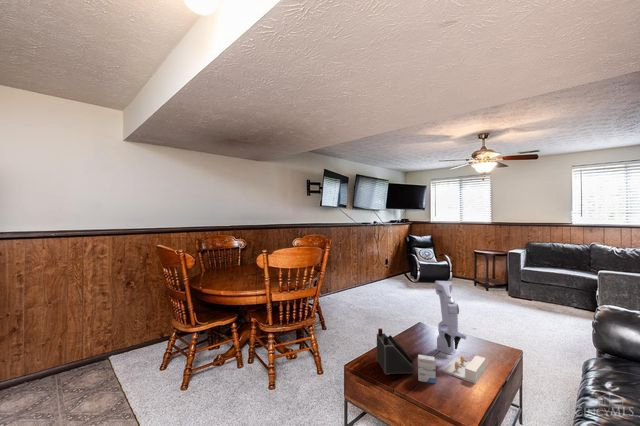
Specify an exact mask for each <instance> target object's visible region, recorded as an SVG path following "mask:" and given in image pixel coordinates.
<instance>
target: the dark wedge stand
mask: <svg viewBox="0 0 640 426" xmlns="http://www.w3.org/2000/svg"><path fill="white" fill-rule="evenodd" d="M377 330H378V332H377V333H376V360H377V362H378V363H379V365H380V367H381V369H382V371H383V373H384V375H386V376H390V374H392V375H394V374H408V375H411V374H413V373H415V367H414V366H413V364H412V363H413V362H414V361H413V359H412V358H411V357H410V355H409V354H408V353H407V351H406V350H405V349H404V348H403V346H401V344H399V342H398V341H396V339H395V338H394V337H393V336H392V335H391V334H389V336H388V335H387V334H386V333H383V328H378V329H377Z"/></svg>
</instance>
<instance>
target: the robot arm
mask: <svg viewBox="0 0 640 426" xmlns="http://www.w3.org/2000/svg"><path fill="white" fill-rule="evenodd" d="M434 289H435V294H436V295H438V296H439V301H440V302H439V303H440V310H441V311H440V312H441V319H442V320H441V321H439V322H438V326H437V327H438V335H437V336H436V351H438V352H442V353H444V354H447V355H450V356H451V355H454V353H456V352H457V349H458V346H459V344H460V340H461V339H463V340H467V335H466V334H464V333H462V332H460V331H459V324H458V323H459V321H458V320H459V317H458V315H459V314H460V307H459V305H458V303H456V300H455V298H454V296H453V295H452V294H451V293H452V291H453V290H452V289H453V283H452V281H450V280H449V281H448V280H435V281H434Z"/></svg>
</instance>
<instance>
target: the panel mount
mask: <svg viewBox="0 0 640 426" xmlns="http://www.w3.org/2000/svg"><path fill="white" fill-rule="evenodd" d="M460 359H461V357H457V356H455V357H453V358H452V360H450V362H449V363H448V364H447V365H446V366H445V367H444V368H442V373H446V374H447V375H451V376H452V377H456V378H458V379H461V380H464V381H466V382H469V383H472V384H474V385H476V384H477V383H478V380H479V379H480V378H481V377H482V376H483V374H484V373H485V371H486V370H487V358H486V357H482V356H479V355H475V356H473V358H472V360H470V361H469V360H467V362H464V364H463V363H461V361H460ZM456 362H459V364H460V365H461V366H462V369H461V368H459V369H458V370H457V369H455V363H456Z"/></svg>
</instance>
